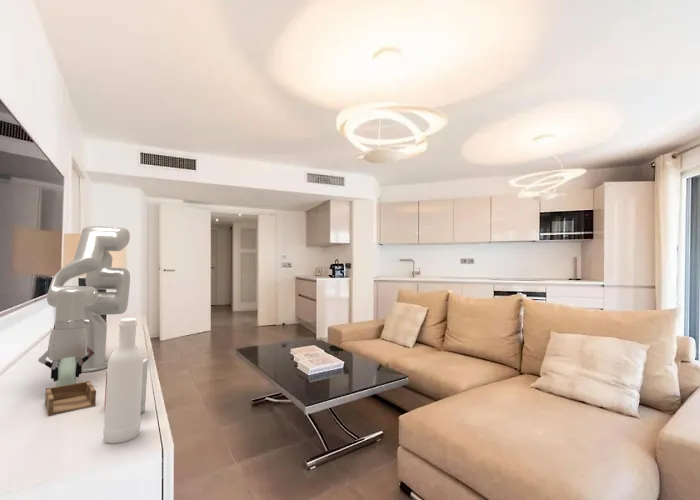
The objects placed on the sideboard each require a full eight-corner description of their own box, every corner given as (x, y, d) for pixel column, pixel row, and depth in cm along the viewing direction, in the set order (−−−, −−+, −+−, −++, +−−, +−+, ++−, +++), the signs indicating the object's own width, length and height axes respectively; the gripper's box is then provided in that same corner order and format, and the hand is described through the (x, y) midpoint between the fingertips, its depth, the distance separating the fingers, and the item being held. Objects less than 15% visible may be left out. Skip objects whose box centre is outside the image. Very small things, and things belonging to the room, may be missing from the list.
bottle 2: (121, 445, 84) (128, 322, 86) (94, 441, 86) (102, 320, 87) (146, 430, 92) (153, 317, 94) (122, 427, 94) (128, 316, 95)
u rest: (44, 403, 108) (45, 388, 108) (88, 394, 115) (89, 381, 116) (48, 416, 99) (49, 399, 99) (95, 405, 107) (96, 390, 107)
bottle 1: (54, 391, 117) (57, 341, 118) (74, 387, 121) (76, 338, 121) (56, 396, 113) (59, 343, 114) (76, 392, 117) (79, 341, 118)
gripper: (97, 320, 126) (95, 370, 126) (34, 325, 114) (31, 381, 114) (101, 323, 121) (99, 375, 120) (36, 329, 109) (32, 387, 108)
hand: (66, 377), depth 117 cm, fingers closed on bottle 1, 5 cm apart
